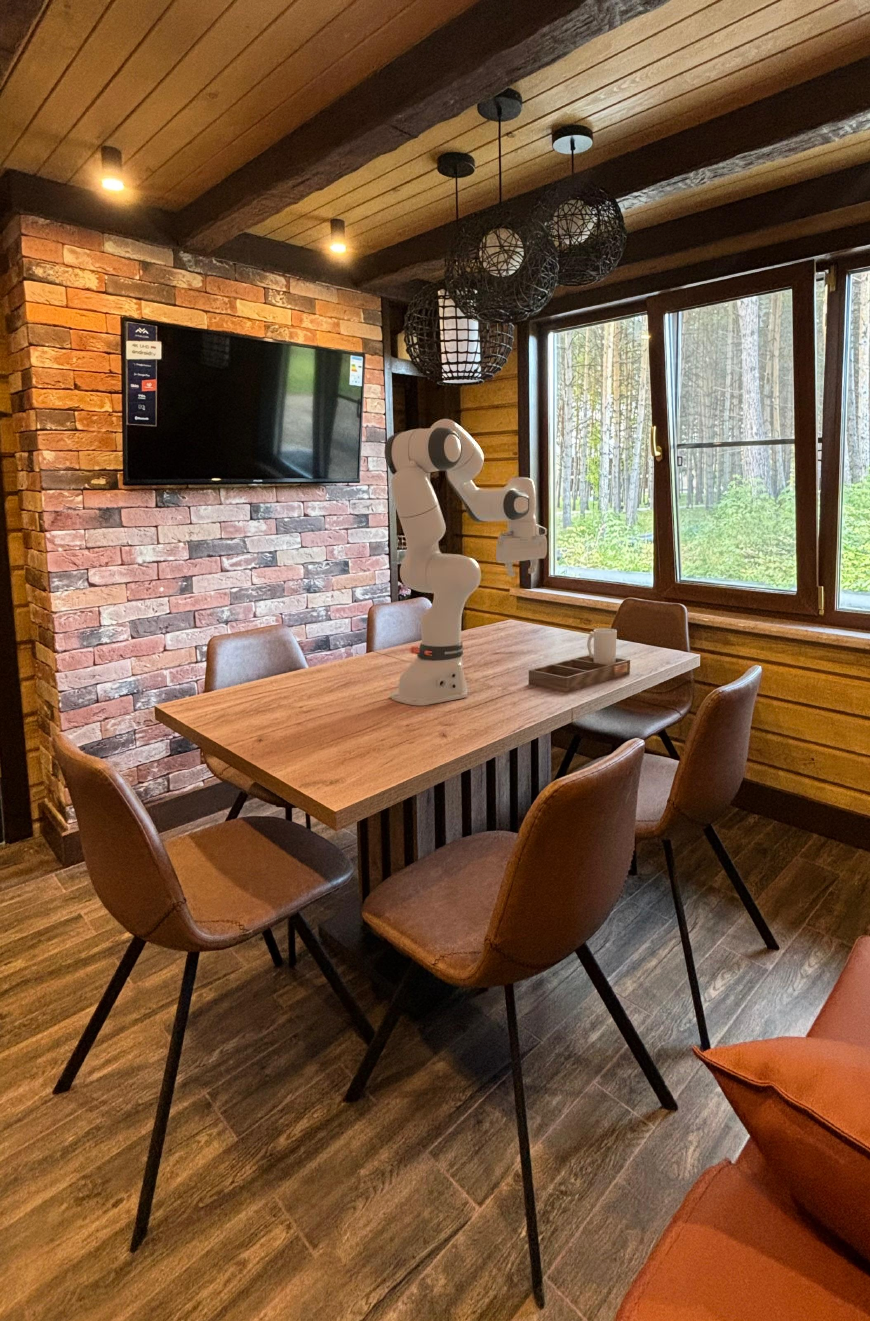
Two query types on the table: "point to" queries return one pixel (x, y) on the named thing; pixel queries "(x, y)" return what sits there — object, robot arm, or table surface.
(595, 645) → the mug
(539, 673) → the tray
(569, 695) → the table surface
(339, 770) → the table surface
